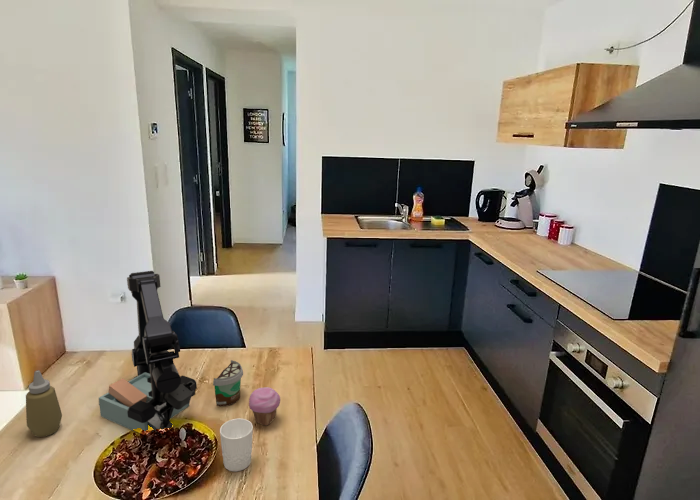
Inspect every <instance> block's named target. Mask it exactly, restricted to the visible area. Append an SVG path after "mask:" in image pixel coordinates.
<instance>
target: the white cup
mask: <svg viewBox="0 0 700 500" xmlns="http://www.w3.org/2000/svg"><path fill="white" fill-rule="evenodd" d="M253 429H254V428H253V423H252V422H251V421H250V420H248V419H246V418H233V419H229V420H227V421H225V422H224V423H223V424H222V425H221V426H220V428H219V435H220V437H219V438H220V445H221V446H220V447H221V454H222V460H223V461H222V463H223V465H224V468H225V469H227V470H228V471H229V472H240V471H243V470H245V469H247V468H248V467H249V466H250V464H251V462H252V451H253V435H254V434H253V432H254V431H253Z"/></svg>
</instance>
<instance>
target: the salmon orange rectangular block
mask: <svg viewBox="0 0 700 500" xmlns="http://www.w3.org/2000/svg"><path fill="white" fill-rule="evenodd" d="M107 393H110V394H111V395H112V396H114V397H115V398H116V399H118V400H119V401H120V402H122V403H123V404H124V405H126V406H127V407H131V406H132V405H134V404H136V403H137V402H139V401H144V402H146V399H147V395H145V394H144V393H142V392H141V391H140V390H138V389H137V388H136V387H134V386H133V385H131V384H130V383H129V382H128V381H127V380H126V379H125V378H120V379H119V380H117V381H115V382H113V383H111V384H109V386H108V392H107Z"/></svg>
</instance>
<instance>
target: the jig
mask: <svg viewBox="0 0 700 500" xmlns="http://www.w3.org/2000/svg"><path fill="white" fill-rule="evenodd" d="M149 377H150V374H149V373H146V372H145V373H143V374H141V375H139V376H138V375H137V377H136V376H135V378H134V377H133V378H132V379H130V380H129V381H127V382H129V383H130V384H131V385H133V386H134V387H136V388H137V389H138V390H140V391H141V392H142V393H144V394H145V395H147V399H146V403H147V402H148V401H150V400H152V399H153V398H152V397H151V396H149V393H148V392H150V391H152V389H151V383H149V382H148V381H147V379H148V378H149ZM115 399H116V398H115V397H114V396H112V395H111V394H110V393H108V392H106V393H104V394H103V395H101V396H99V397H98V405H99V412H100V413H99V415H100V417H101V418H103V419H106V420H108V421H111V422H113V423H115V424H117V425H119V426H120V427H121V426H122V427H124V428H126V429H127V430H131V431H133V429H137V428H141V429H142V430H144V431H146V430H148V423H147V422H146V423H141V422H138V421H136V420H133V419H131V418H129V417H128V413H127V410H128V408H129V407H127V406H125V405H122V404H120V403H119V402H117V401H116V400H115ZM189 406H190V403H189V404H186V405H185V406H184V407H182V408H181V409H179V410H177V409H175V408H174V409H173V412H172V415H171V419H173V418H174V417H175V416H177V415H178V414H180V413H181V412H183V411H184V410H185V409H187V408H188V407H189Z"/></svg>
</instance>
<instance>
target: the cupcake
mask: <svg viewBox="0 0 700 500" xmlns="http://www.w3.org/2000/svg"><path fill="white" fill-rule="evenodd" d="M280 403H281V395H279V393H278V392H277V391H276V390H275V389H273V388H272V387H267V386H266V387H265V386H264V387H258V388H256V389H254V390H253V391H252V393H251V394H250V396H249V398H248V407H249V409H250V410H251V412H252V414H253V417H254V419H255V422H256V423H258V424H260V425H262V426H265V427H267V426H269V425H270V424H271V423H272V422H273V420H275V419H276V417H277V409H278V408H279V406H280Z"/></svg>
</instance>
